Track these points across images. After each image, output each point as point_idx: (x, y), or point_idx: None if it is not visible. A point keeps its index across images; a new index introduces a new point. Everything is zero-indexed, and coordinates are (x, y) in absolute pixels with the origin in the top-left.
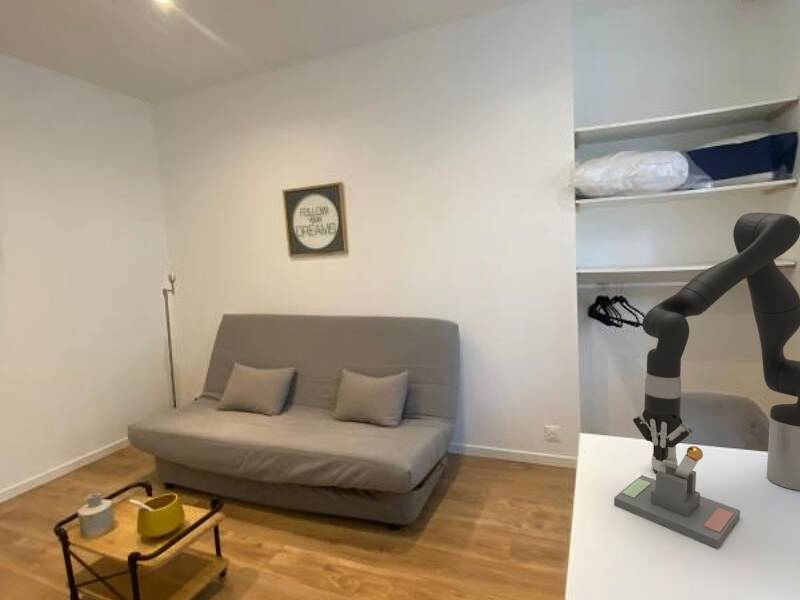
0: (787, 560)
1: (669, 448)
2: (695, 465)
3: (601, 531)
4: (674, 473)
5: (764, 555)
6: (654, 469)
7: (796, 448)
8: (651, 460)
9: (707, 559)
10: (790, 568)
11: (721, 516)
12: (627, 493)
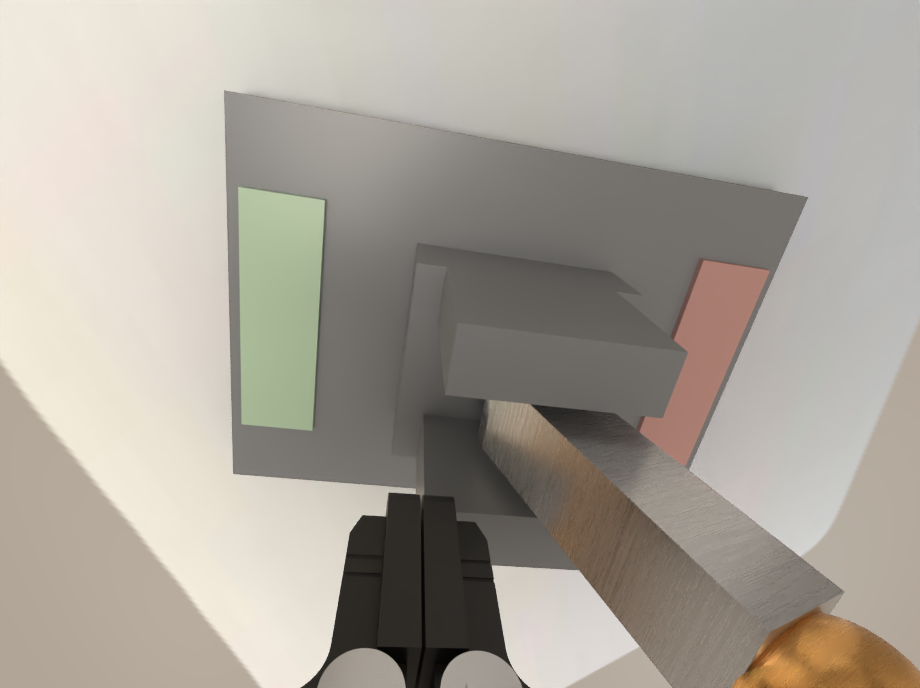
0: (868, 403)
1: None
2: (733, 513)
3: (298, 616)
4: (536, 511)
5: (800, 422)
6: None
7: None
8: None
9: None
10: (861, 441)
11: (707, 341)
12: (268, 413)
